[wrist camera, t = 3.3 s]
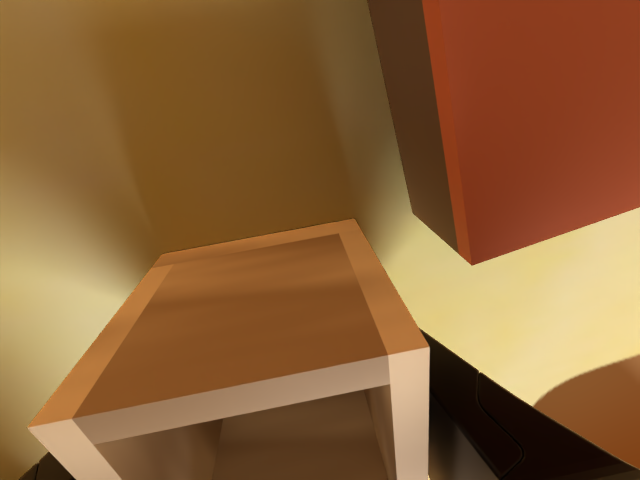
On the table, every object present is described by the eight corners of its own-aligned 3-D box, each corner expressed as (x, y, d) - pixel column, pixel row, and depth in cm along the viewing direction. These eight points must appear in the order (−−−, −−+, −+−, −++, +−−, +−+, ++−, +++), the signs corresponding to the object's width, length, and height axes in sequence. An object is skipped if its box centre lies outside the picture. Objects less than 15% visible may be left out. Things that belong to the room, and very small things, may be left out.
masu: (369, 355, 11) (427, 529, 7) (220, 385, 11) (176, 585, 6) (354, 218, 9) (429, 347, 4) (161, 254, 9) (26, 428, 4)
